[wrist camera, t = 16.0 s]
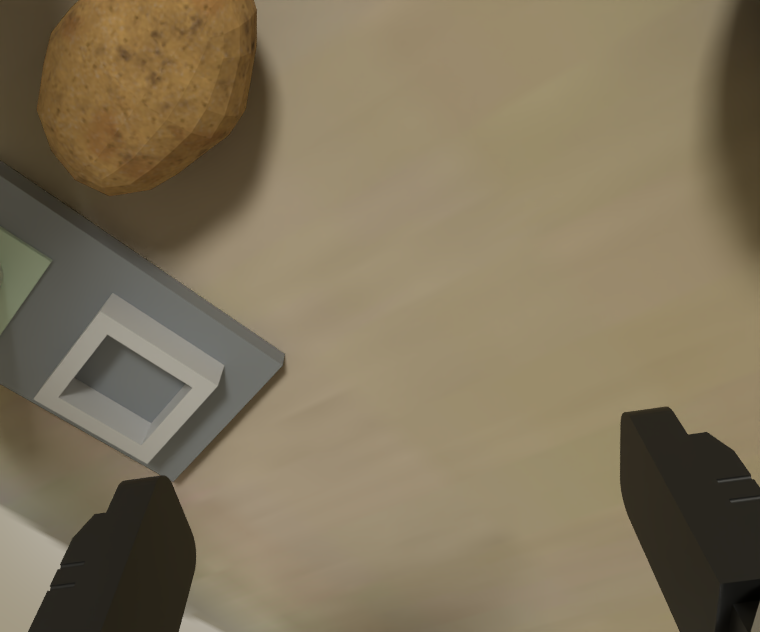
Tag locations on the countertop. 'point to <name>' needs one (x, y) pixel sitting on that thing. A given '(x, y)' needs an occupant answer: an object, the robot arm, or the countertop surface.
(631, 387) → the countertop surface
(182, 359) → the board
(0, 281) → the ball
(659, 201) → the countertop surface
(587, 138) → the countertop surface
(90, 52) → the potato
